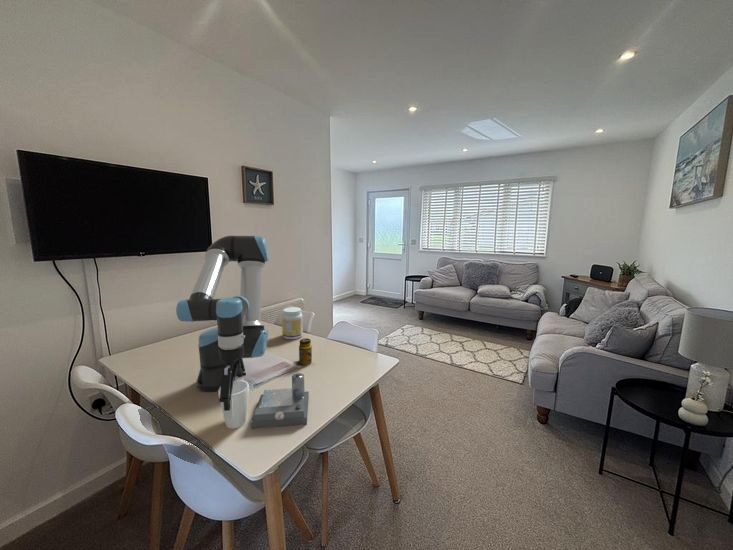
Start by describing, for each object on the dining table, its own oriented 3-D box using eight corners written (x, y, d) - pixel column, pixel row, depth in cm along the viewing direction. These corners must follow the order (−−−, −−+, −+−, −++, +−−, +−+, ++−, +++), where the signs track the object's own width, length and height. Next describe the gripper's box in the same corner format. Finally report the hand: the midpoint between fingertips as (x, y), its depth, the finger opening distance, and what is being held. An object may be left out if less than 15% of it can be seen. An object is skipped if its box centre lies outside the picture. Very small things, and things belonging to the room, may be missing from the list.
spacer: (291, 400, 106) (291, 379, 105) (292, 393, 110) (292, 373, 109) (304, 399, 107) (303, 378, 105) (304, 392, 111) (304, 372, 110)
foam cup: (256, 418, 103) (255, 384, 101) (234, 435, 94) (232, 398, 92) (237, 410, 107) (235, 377, 104) (214, 426, 98) (211, 390, 96)
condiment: (314, 364, 143) (314, 341, 141) (298, 368, 139) (297, 344, 137) (308, 358, 149) (308, 336, 147) (292, 362, 145) (292, 339, 143)
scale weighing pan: (258, 411, 102) (258, 407, 101) (264, 393, 112) (264, 390, 112) (303, 408, 104) (302, 404, 104) (304, 391, 115) (304, 387, 114)
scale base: (251, 428, 98) (251, 413, 97) (261, 400, 113) (260, 387, 112) (306, 424, 100) (306, 409, 99) (308, 397, 116) (308, 384, 115)
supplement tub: (287, 331, 185) (286, 306, 182) (305, 333, 183) (305, 307, 181) (278, 339, 173) (278, 311, 170) (298, 340, 172) (298, 313, 169)
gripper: (232, 361, 84) (236, 428, 87) (252, 332, 109) (254, 385, 112) (204, 363, 83) (209, 431, 86) (230, 332, 107) (233, 386, 111)
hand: (234, 405), depth 99 cm, fingers open, 13 cm apart
